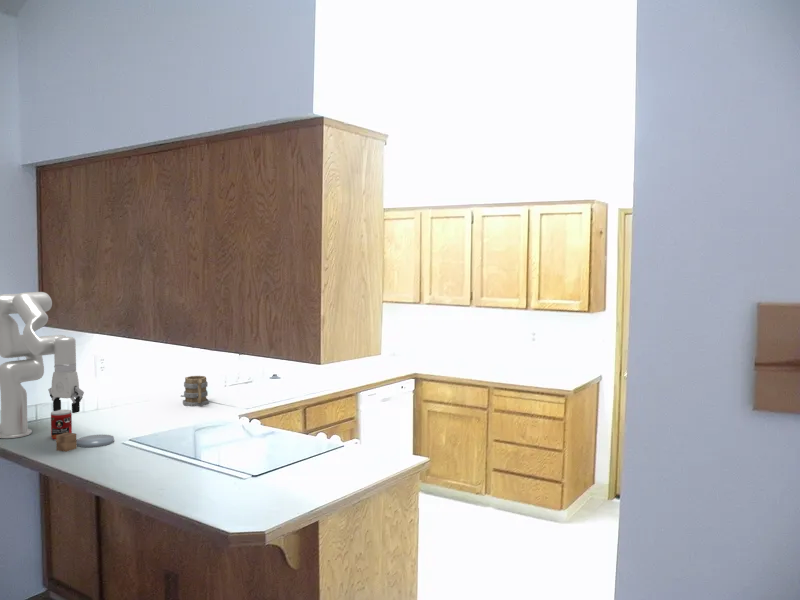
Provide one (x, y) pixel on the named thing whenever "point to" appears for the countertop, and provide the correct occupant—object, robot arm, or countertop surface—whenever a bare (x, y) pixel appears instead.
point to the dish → (94, 441)
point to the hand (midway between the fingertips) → (66, 411)
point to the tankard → (195, 391)
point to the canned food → (61, 422)
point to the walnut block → (66, 442)
